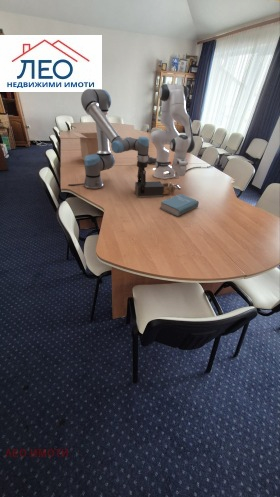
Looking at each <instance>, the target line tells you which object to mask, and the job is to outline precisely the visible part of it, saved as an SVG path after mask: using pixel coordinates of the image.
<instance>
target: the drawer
mask: <svg viewBox="0 0 280 497" xmlns="http://www.w3.org/2000/svg"><path fill="white" fill-rule="evenodd" d="M161 183H162V182H161ZM162 184H163V186H164V192H163V195H167V194H172V195H175V191H176V190H179V191H180V190H181V187H180V186H179V185H178V184H173V183H172V182H171V181H170V182H163V183H162Z"/></svg>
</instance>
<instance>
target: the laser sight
mask: <svg viewBox="0 0 280 497" xmlns="http://www.w3.org/2000/svg"><path fill="white" fill-rule="evenodd" d="M156 159H157V157H151V156H150V155H149V154H148V161H147V162H148V164H150V165H155V164H156Z"/></svg>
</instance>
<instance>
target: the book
mask: <svg viewBox="0 0 280 497" xmlns="http://www.w3.org/2000/svg"><path fill="white" fill-rule="evenodd" d="M160 203H161V204H160V208H159V209H161V210H163V211H165V212H167V213H169V214H171V215H173V216H176V217H180V216H181V215H184V214H186V213H188V212H190V211H192V210H194V209H196V208H198V207H199V204H200V203H199V200H196V199H194V198H192V197H189V196H187V195H184V194H182V193H180V194H177V195H175V196H172V197H169V198H166V199H164V200H161V201H160Z"/></svg>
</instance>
